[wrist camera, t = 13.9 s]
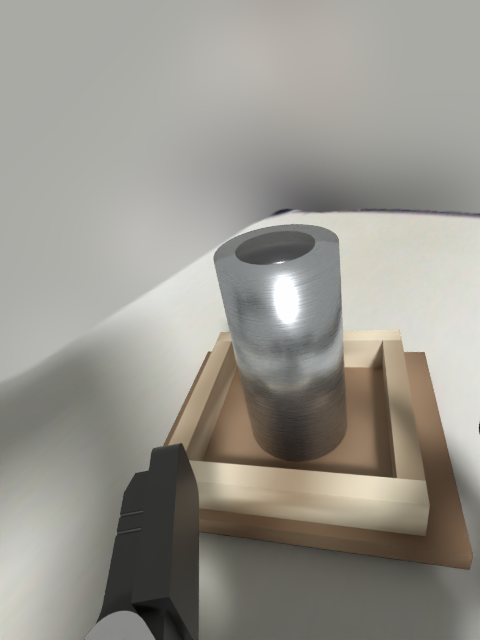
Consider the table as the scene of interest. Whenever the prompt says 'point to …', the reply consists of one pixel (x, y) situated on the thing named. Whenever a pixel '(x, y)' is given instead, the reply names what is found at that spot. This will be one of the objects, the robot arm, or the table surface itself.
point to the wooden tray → (332, 462)
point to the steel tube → (287, 336)
